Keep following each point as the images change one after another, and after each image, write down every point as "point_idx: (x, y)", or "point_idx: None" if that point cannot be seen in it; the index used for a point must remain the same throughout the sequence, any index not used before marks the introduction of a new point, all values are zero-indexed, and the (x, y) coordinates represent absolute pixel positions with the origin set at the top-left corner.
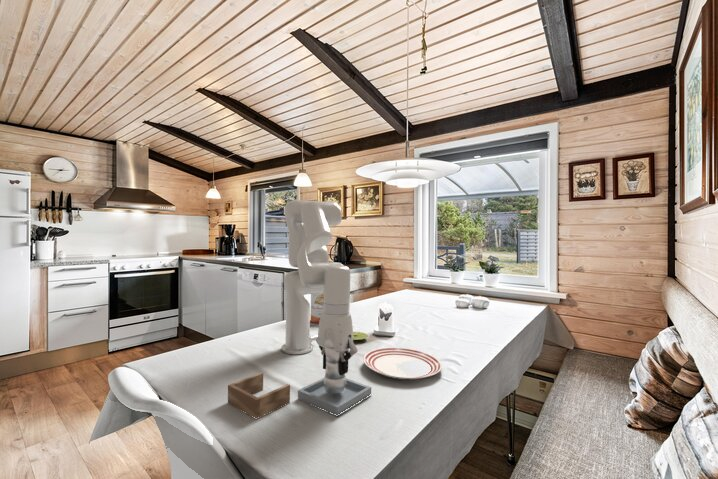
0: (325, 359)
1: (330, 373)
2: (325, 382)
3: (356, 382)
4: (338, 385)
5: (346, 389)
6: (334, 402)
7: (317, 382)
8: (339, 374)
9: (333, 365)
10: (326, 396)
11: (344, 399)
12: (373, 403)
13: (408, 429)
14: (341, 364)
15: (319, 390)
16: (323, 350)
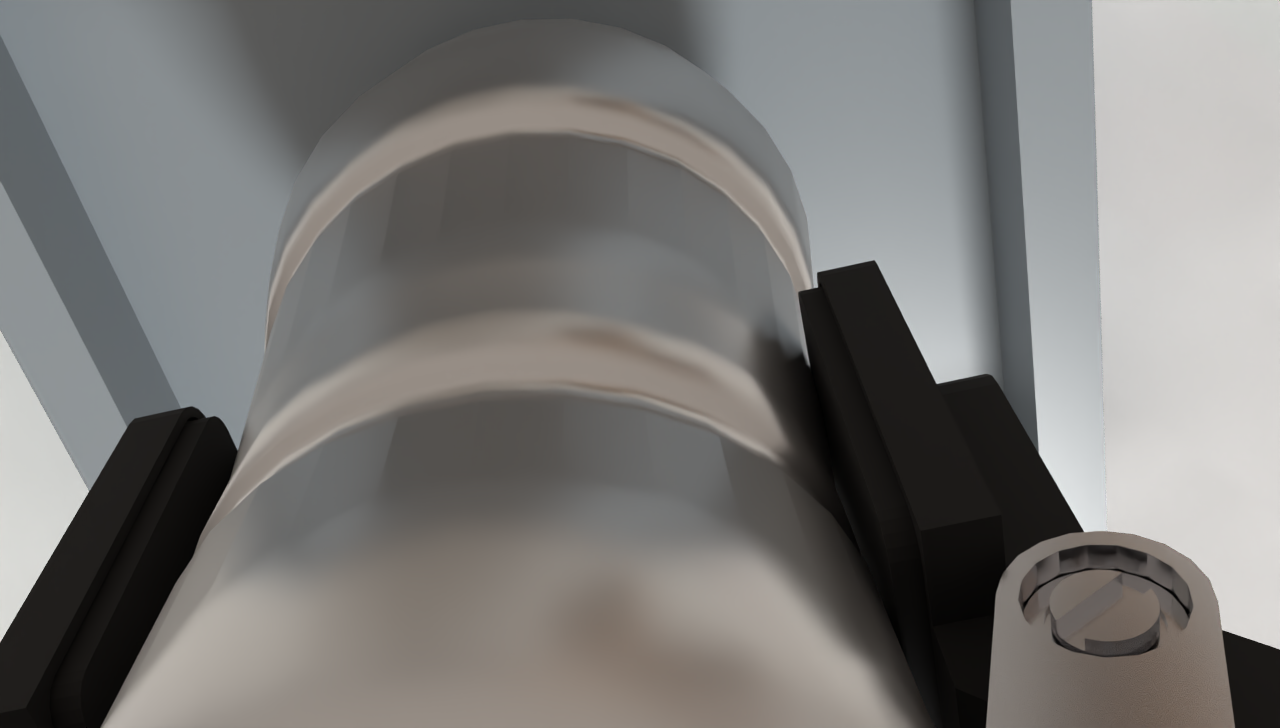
0: (857, 477)
1: (395, 241)
2: (557, 63)
3: None
4: (276, 249)
5: None
6: (264, 3)
7: (1039, 106)
8: (190, 408)
9: (273, 447)
10: (574, 14)
11: (274, 225)
12: (23, 531)
13: None
14: (17, 655)
15: (883, 44)
16: (1109, 714)
